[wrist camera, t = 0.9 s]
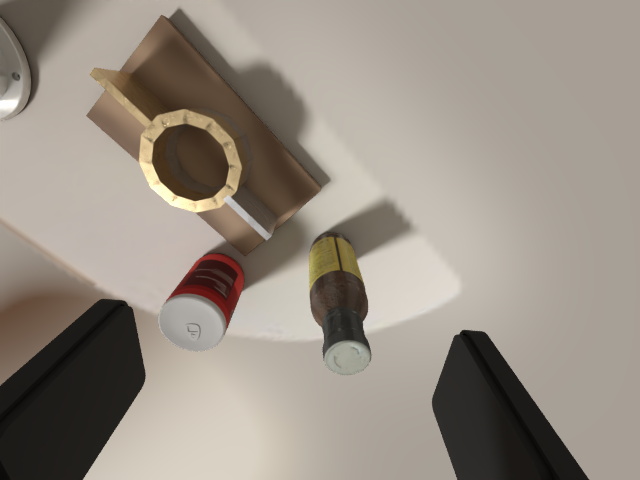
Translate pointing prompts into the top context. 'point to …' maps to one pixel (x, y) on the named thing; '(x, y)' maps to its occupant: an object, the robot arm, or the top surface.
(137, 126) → the walnut board
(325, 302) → the sauce bottle
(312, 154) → the top surface
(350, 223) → the top surface
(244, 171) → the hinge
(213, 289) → the canned food
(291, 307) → the top surface
